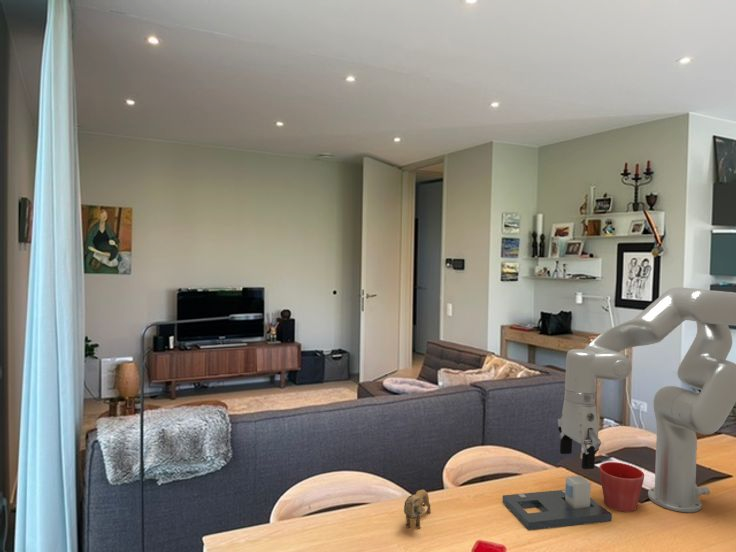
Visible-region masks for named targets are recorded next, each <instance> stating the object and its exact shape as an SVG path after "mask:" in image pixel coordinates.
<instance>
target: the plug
mask: <svg viewBox="0 0 736 552" xmlns="http://www.w3.org/2000/svg"><path fill="white" fill-rule="evenodd" d="M591 485H592V482H590V481H589V480H588V479H586V478H584V477H583V476H582V475H574V476H566V477H565V489H564V490H565V501H566V502H567V503H568V504H569V505H570V506H572V507H573V508H574V509H575V508H585V507H590V497H591V493H592V491H591V489H592V486H591Z"/></svg>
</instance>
